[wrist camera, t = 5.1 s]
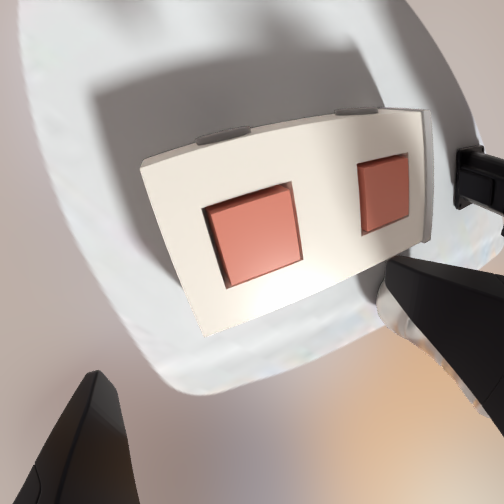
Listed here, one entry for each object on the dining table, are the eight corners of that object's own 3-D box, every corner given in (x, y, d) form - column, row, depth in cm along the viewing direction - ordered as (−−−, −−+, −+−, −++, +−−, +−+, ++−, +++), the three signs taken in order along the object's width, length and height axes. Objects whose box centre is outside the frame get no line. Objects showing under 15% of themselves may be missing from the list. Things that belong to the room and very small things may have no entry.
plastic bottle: (370, 326, 26) (503, 463, 9) (362, 277, 22) (543, 437, 5) (414, 292, 27) (546, 403, 9) (413, 241, 23) (583, 360, 6)
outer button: (273, 182, 14) (289, 189, 12) (285, 245, 16) (300, 259, 14) (203, 204, 13) (211, 214, 12) (222, 268, 15) (232, 285, 13)
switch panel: (385, 104, 17) (430, 107, 13) (392, 220, 21) (430, 240, 18) (141, 154, 13) (137, 162, 10) (192, 298, 18) (205, 341, 14)
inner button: (386, 153, 15) (407, 158, 14) (389, 206, 17) (408, 214, 16) (343, 163, 15) (363, 168, 13) (348, 221, 16) (367, 231, 15)
